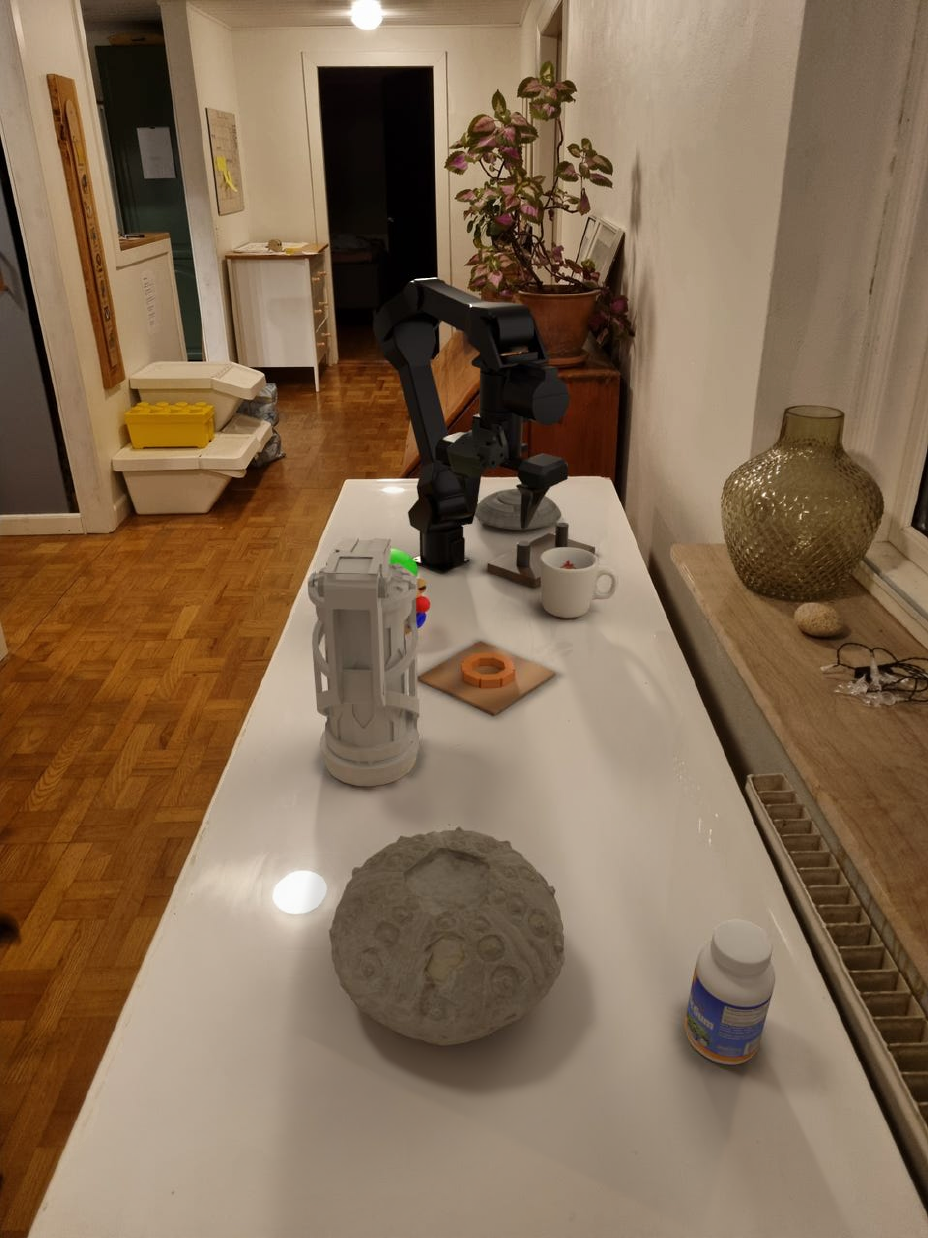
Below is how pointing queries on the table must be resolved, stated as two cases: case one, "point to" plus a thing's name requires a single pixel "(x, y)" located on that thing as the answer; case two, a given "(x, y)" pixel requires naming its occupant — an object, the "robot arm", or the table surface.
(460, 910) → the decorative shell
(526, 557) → the peg board
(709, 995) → the pill bottle
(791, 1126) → the table surface
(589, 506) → the table surface
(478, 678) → the ring
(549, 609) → the cup
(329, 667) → the lantern
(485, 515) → the flying saucer
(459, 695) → the cork mat
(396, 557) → the figurine
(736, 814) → the table surface
